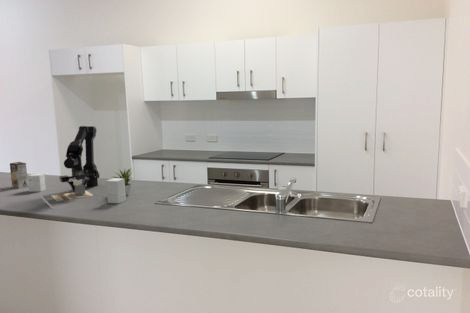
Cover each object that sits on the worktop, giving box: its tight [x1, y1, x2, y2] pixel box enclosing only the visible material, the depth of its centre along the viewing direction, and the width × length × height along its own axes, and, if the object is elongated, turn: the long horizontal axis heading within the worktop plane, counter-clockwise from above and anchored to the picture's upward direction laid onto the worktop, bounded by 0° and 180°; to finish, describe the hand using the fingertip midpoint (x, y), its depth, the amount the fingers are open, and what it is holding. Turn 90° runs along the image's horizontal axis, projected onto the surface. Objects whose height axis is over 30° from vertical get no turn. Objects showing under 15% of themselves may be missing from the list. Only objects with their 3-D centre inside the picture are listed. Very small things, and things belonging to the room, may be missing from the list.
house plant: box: [112, 167, 133, 197], centre depth 231 cm, size 14×14×16 cm
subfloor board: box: [51, 189, 94, 202], centre depth 227 cm, size 20×16×1 cm
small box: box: [27, 173, 47, 193], centre depth 244 cm, size 8×6×10 cm
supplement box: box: [105, 177, 127, 204], centre depth 215 cm, size 7×7×13 cm
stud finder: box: [71, 182, 86, 195], centre depth 229 cm, size 5×9×5 cm, turn 37°
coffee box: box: [9, 161, 29, 189], centre depth 255 cm, size 9×6×16 cm
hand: (78, 191), depth 229 cm, fingers closed on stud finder, 5 cm apart
